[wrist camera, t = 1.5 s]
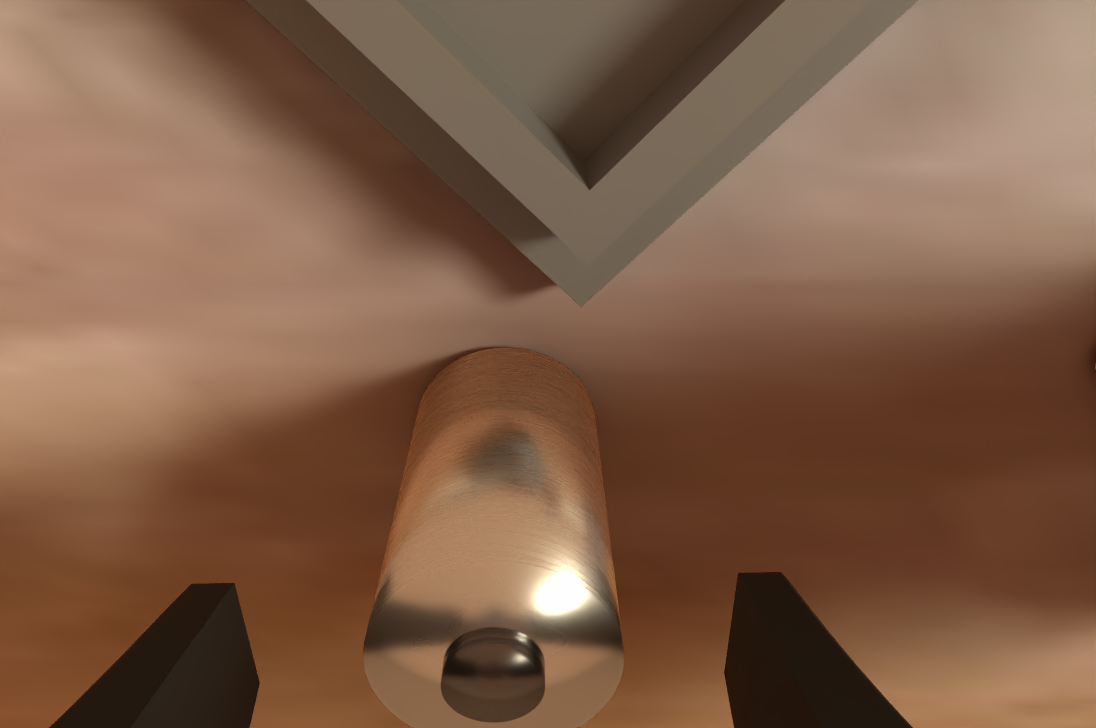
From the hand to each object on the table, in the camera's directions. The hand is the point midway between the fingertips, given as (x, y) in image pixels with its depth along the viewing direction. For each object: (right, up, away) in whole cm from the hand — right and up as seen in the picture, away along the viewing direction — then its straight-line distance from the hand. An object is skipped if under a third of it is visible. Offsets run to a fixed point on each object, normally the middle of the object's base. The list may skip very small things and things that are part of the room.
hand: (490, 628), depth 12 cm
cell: (0, +3, +5) cm, 5 cm away
